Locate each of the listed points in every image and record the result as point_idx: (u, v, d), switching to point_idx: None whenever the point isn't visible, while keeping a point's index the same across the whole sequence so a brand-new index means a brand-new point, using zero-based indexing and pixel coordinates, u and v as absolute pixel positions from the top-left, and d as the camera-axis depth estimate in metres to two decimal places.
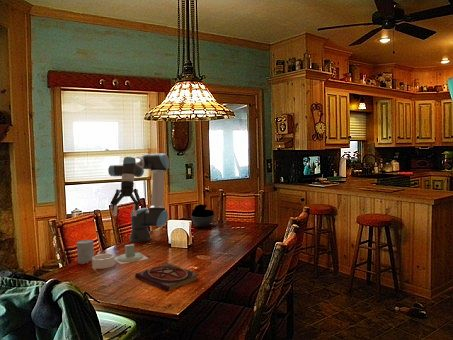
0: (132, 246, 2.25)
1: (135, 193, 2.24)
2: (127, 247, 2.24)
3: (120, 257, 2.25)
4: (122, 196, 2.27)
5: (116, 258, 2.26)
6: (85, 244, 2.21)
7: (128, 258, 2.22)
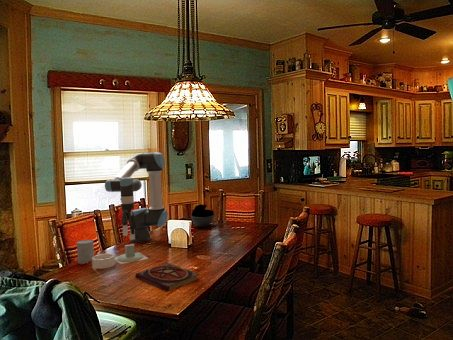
0: (132, 246, 2.25)
1: (129, 217, 2.18)
2: (127, 247, 2.24)
3: (120, 257, 2.25)
4: None
5: (116, 258, 2.26)
6: (85, 244, 2.21)
7: (128, 258, 2.22)
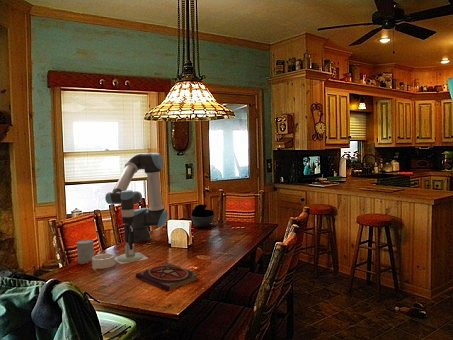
0: None
1: (129, 233, 2.20)
2: (127, 247, 2.24)
3: (120, 257, 2.25)
4: None
5: (116, 258, 2.26)
6: (85, 244, 2.21)
7: (128, 258, 2.22)
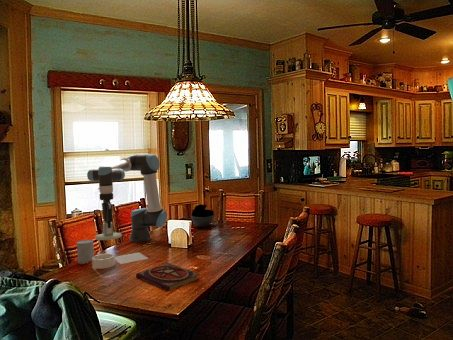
0: None
1: (107, 210, 2.10)
2: (105, 225, 2.13)
3: (98, 236, 2.14)
4: None
5: (116, 258, 2.26)
6: (85, 244, 2.21)
7: (106, 237, 2.11)
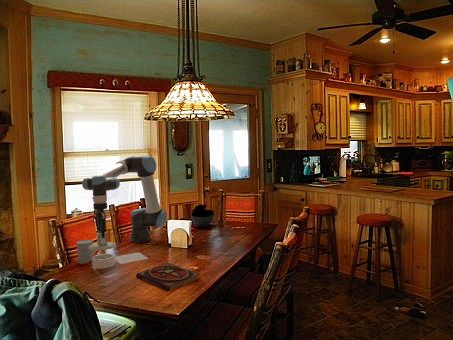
0: None
1: (101, 220, 2.07)
2: (99, 235, 2.11)
3: (91, 246, 2.11)
4: None
5: (116, 258, 2.26)
6: (85, 244, 2.21)
7: (100, 247, 2.09)
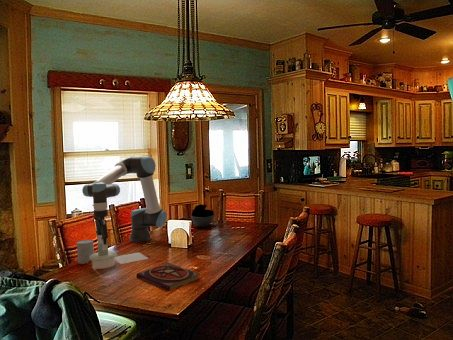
0: None
1: (102, 226, 2.07)
2: (100, 245, 2.11)
3: (92, 256, 2.12)
4: None
5: (116, 258, 2.26)
6: (85, 244, 2.21)
7: (100, 257, 2.09)
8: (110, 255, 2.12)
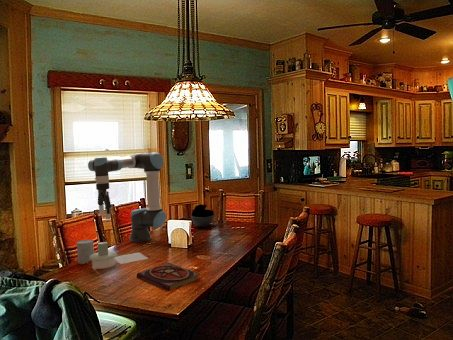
0: (105, 244, 2.13)
1: (104, 197, 2.17)
2: (100, 245, 2.11)
3: (92, 256, 2.12)
4: None
5: (116, 258, 2.26)
6: (85, 244, 2.21)
7: (100, 257, 2.09)
8: (110, 255, 2.12)
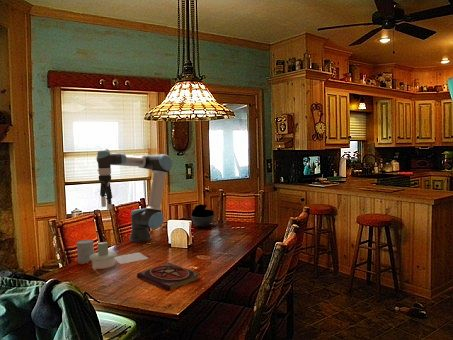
0: (105, 244, 2.13)
1: (106, 187, 2.28)
2: (100, 245, 2.11)
3: (92, 256, 2.12)
4: None
5: (116, 258, 2.26)
6: (85, 244, 2.21)
7: (100, 257, 2.09)
8: (110, 255, 2.12)
